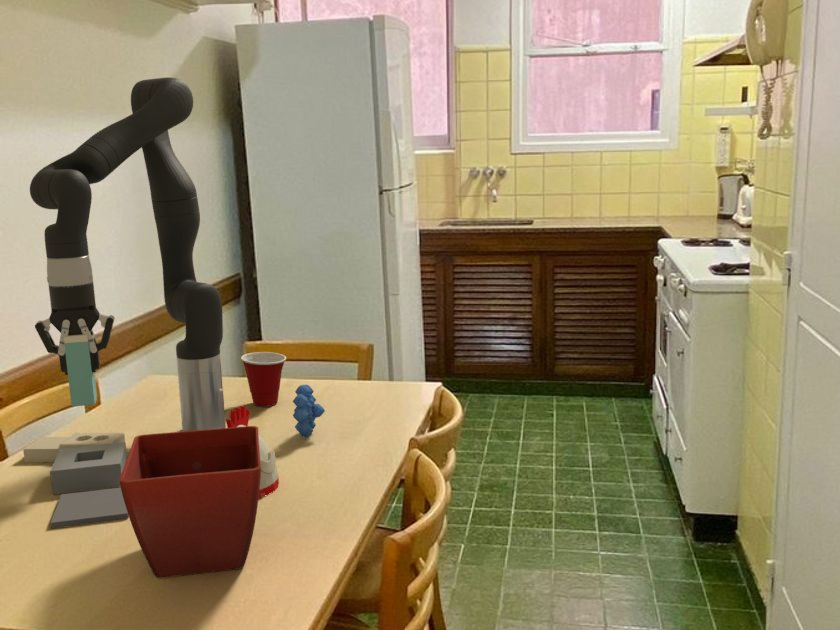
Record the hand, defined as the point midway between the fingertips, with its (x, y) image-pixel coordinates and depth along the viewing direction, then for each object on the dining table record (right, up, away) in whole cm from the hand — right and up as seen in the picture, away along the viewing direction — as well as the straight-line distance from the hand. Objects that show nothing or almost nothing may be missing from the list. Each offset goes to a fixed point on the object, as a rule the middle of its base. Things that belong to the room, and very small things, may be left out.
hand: (81, 372), depth 153 cm
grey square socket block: (0, -20, +4) cm, 21 cm away
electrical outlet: (-8, -19, +17) cm, 26 cm away
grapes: (+39, -16, +24) cm, 49 cm away
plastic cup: (+25, -11, +49) cm, 56 cm away
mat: (+6, -23, -10) cm, 26 cm away
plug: (0, -6, +1) cm, 6 cm away
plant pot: (+30, -26, -27) cm, 48 cm away
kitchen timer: (+30, -21, -1) cm, 37 cm away
